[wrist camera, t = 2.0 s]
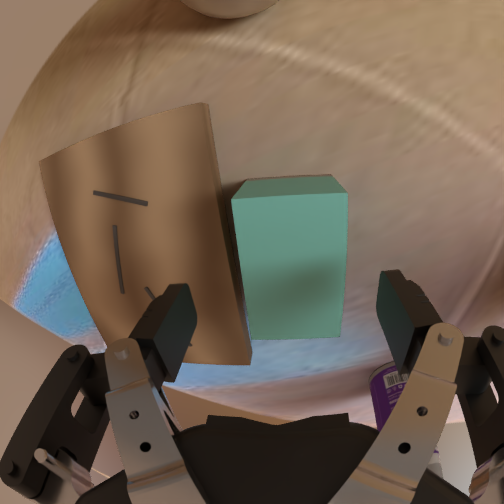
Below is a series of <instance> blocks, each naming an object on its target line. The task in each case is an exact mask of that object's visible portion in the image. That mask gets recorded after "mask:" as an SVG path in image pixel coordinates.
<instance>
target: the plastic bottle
mask: <svg viewBox="0 0 504 504" xmlns="http://www.w3.org/2000/svg"><path fill="white" fill-rule="evenodd" d="M180 1H181V2H183V3H184V4H185V5H187V6H188V7H190V8H192V9H194V10H195V11H197V12H199V13H201V14H203V15H206V16H210V17H213V18H222V19H229V18H240V17H246V16H249V15H253V14H256V13H258V12H261V11H263V10H265V9H267V8H269V7H270V6H272V5H274V4H275V3H276V2H277V1H279V0H180Z"/></svg>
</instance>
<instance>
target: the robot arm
mask: <svg viewBox="0 0 504 504" xmlns="http://www.w3.org/2000/svg"><path fill="white" fill-rule="evenodd" d="M376 311H377V316H378V319H379V321H380V324H381V327H382V329H383V332H384V334H385V337H386V340H387V342H388V345H389V348H390V351H391V353H392V356H393V359H394V362H395V365H396V368H397V371H398V374H399V375H402V374H407V373H409V375H410V376H409V379H408V381H407V383H406V385H405V387H404V389H403V391H402V393H401V395H400V397H399V399H398V401H397V403H396V405H395V407H394V409H393V411H392V412H391V414H390V416H389V418H388V420H387V421H386V423H385V425H384V426H383V428H382V430H381V432H380V431H378V430H376V429H374V428H372V427H370V426H367V425H363V424H359V423H354V422H349V416H348V413H343V414H334V415H323V416H312V417H309V418H305V419H302V420H298V421H294V422H290V423H286V424H281V425H271V424H267V423H262V422H258V421H254V420H250V419H246V418H242V417H228V416H214V415H208V418H207V422H206V424H202V425H198V426H193V427H190V428H187V429H185V430H182V428H181V427H180V425H179V423H178V421H177V419H176V417H175V415H174V413H173V410H172V408H171V406H170V404H169V402H168V400H167V397H166V396H165V393H164V391H163V389H162V384H163V382H164V381H165V382H175V379H176V377H177V374H178V372H179V369H180V366H181V364H182V361H183V359H184V356H185V354H186V351H187V349H188V346H189V344H190V341H191V339H192V336H193V334H194V331H195V329H196V326H197V312H196V308H195V305H194V301H193V298H192V294H191V291H190V288H189V285H188V284H187V283H177V284H169V285H168V287H167V288H166V290H165V291H164V293H163V295H159V296H158V297H157V298H155V299H154V300H153V301H152V302H151V303H150V304H149V306H148V307H147V309H146V311H145V312H144V313H143V315H142V318H140V319H139V321H138V323H137V324H136V326H135V327H134V329H133V330H132V332H131V333H130V335H129V337H128V338H122V339H119V340H116V341H115V342H113V343H112V344H110V345H109V346H108V347H107V349H106V351H105V353H98V354H90V353H89V351H88V349H87V348H86V347H85V346H84V345H74V346H71V347H69V348H68V349H66V350H65V351H64V352H63V353H62V355H61V356H60V358H59V359H58V361H57V362H56V364H55V365H54V367H53V368H52V370H51V371H50V373H49V374H48V376H47V377H46V379H45V380H44V382H43V384H42V385H41V387H40V389H39V390H38V392H37V393H36V395H35V397H34V398H33V400H32V402H31V403H30V405H29V407H28V408H27V410H26V412H25V414H24V415H23V417H22V419H21V421H20V423H19V425H18V426H17V429H16V430H15V432H14V434H13V436H12V438H11V440H10V442H9V444H8V446H7V448H6V450H5V452H4V454H3V456H2V459H1V461H0V477H1V479H2V481H3V482H4V483H5V484H6V485H7V486H9V487H10V488H12V489H13V490H15V491H17V492H18V493H20V494H21V495H22V496H24V497H25V498H27V499H29V500H30V501H32V502H34V503H36V504H504V329H503V328H501V327H499V326H489V327H487V328H485V329H484V331H483V333H482V335H481V338H480V337H463V334H462V332H461V331H460V330H459V329H458V328H457V327H455V326H454V325H451V324H448V323H443V321H442V320H441V318H440V317H439V315H438V313H437V312H436V310H435V309H434V307H433V306H432V304H431V303H430V302H429V299H428V298H427V296H425V293H424V292H423V291H422V289H421V288H420V286H418V285H417V284H416V283H414V282H413V281H411V280H406V279H405V277H404V276H403V274H402V273H401V271H400V270H388V271H382V272H381V274H380V279H379V287H378V295H377V302H376ZM491 382H493V384H494V386H495V388H496V391H497V393H498V397H499V402H498V403H497V400H496V398H495V395H494V393H493V390H492V388H491V386H490V383H491ZM79 390H80V392H81V393H82V394H83V395H84V399H83V401H82V403H81V405H80V407H79V409H78V411H77V413H76V415H75V417H73V416H72V413H71V406H72V403H73V401H74V399H75V397H76V396H77V394H78V392H79ZM455 394H457V396H458V399H459V402H460V405H461V408H462V411H463V414H464V418H465V421H466V425H467V428H468V432H469V435H470V439H471V443H472V447H473V451H474V456H475V460H476V465H477V469H476V471H475V472H474V474H473V477H472V480H471V484H470V486H469V493H470V495H469V497H468V496H467V495H466V494H464V493H462V492H461V491H460V490H458V489H457V488H455V487H454V486H452V485H451V484H450V483H448V482H447V481H445V480H444V479H442V478H441V477H440V476H438V475H437V474H436V473H434V472H433V471H431V470H430V469H429V468H427V465H428V463H429V461H430V459H431V457H432V455H433V452H434V450H435V448H436V446H437V443H438V441H439V438H440V436H441V433H442V431H443V428H444V426H445V423H446V420H447V417H448V414H449V411H450V408H451V405H452V402H453V399H454V396H455ZM109 421H111V424H112V429H113V433H114V436H115V440H116V444H117V447H118V451H119V454H120V457H121V460H122V463H123V466H124V470H122V471H121V472H119V473H117V474H116V475H114V476H112V477H111V478H109V479H107V480H105V481H104V482H102V483H100V484H99V485H97V486H94V484H93V483H92V482H91V476H90V470H91V467H92V464H93V461H94V459H95V456H96V454H97V451H98V448H99V446H100V443H101V441H102V438H103V436H104V433H105V431H106V428H107V426H108V423H109Z"/></svg>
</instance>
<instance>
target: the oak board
mask: <svg viewBox="0 0 504 504" xmlns="http://www.w3.org/2000/svg"><path fill="white" fill-rule="evenodd" d="M39 165H40V170H41V174H42V179H43V183H44V188H45V192H46V196H47V200H48V204H49V207H50V211H51V214H52V218H53V221H54V224H55V227H56V231H57V234H58V237H59V240H60V243H61V246H62V248H63V251H64V254H65V257H66V259H67V262H68V264H69V267H70V270H71V272H72V274H73V277H74V279H75V282H76V284H77V286H78V289H79V291H80V293H81V295H82V298H83V300H84V302H85V304H86V306H87V308H88V310H89V312H90V314H91V316H92V318H93V320H94V322H95V324H96V326H97V328H98V330H99V332H100V334H101V336H102V338H103V339H104V341H105V343H106V345H107V347H108V346H109V345H110V344H112V343H113V342H115V341H116V340H119V339H122V338H128V337H129V335H130V333H131V332H132V330H133V329H134V327H135V326H136V324H137V323H138V321H139V319H140V318H142V315H143V313H144V312H145V311H146V309H147V307H148V306H149V304H150V303H151V302H152V301H153V300H154V299H155V298H157V297H158V296H159V295H163V293H164V291H165V290H166V288H167V287H168V285H169V284H177V283H187V284H188V285H189V288H190V291H191V294H192V298H193V301H194V305H195V308H196V312H197V326H196V329H195V331H194V334H193V336H192V339H191V341H190V344H189V346H188V349H187V351H186V354H185V356H184V359H183V361H182V362H183V363H197V364H216V365H250V363H251V358H252V348H251V343H250V338H249V333H248V328H247V323H246V318H245V313H244V307H243V302H242V297H241V292H240V287H239V281H238V276H237V271H236V265H235V260H234V254H233V249H232V243H231V238H230V232H229V227H228V221H227V216H226V210H225V204H224V198H223V192H222V187H221V181H220V175H219V169H218V163H217V157H216V151H215V144H214V138H213V132H212V126H211V119H210V113H209V106H208V104H205V103H201V102H200V103H196V104H191V105H187V106H183V107H179V108H175V109H172V110H168V111H164V112H161V113H157V114H154V115H151V116H147V117H144V118H141V119H138V120H135V121H132V122H129V123H126V124H123V125H120V126H118V127H115V128H112V129H110V130H107V131H104V132H102V133H99V134H97V135H94V136H92V137H89V138H87V139H85V140H82V141H80V142H78V143H76V144H73V145H71V146H69V147H67V148H65V149H63V150H61V151H59V152H56V153H54V154H52V155H50V156H48V157H47V158H45V159H43V160H41V161H39Z"/></svg>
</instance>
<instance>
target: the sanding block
mask: <svg viewBox="0 0 504 504" xmlns="http://www.w3.org/2000/svg"><path fill="white" fill-rule="evenodd" d="M231 203H232V210H233V218H234V225H235V232H236V239H237V246H238V253H239V260H240V267H241V274H242V281H243V287H244V294H245V301H246V307H247V314H248V321H249V327H250V334H251V340H275V339H311V338H330V337H340V332H341V323H342V313H343V302H344V290H345V276H346V258H347V228H348V193H347V192H346V191H345V189H344V188H343V187H342V186H341V185H340V184H339V183H338V182H337V180H336V179H335V178H334V177H333V176H332V175H331V174H323V175H299V176H282V177H267V178H255V179H247V180H246V181H245V182H244V184H243V185H242V186H241V187H240V189H239V190H238V191H237V192H236V194H235V195H234V196H233V198H232V199H231Z"/></svg>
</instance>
